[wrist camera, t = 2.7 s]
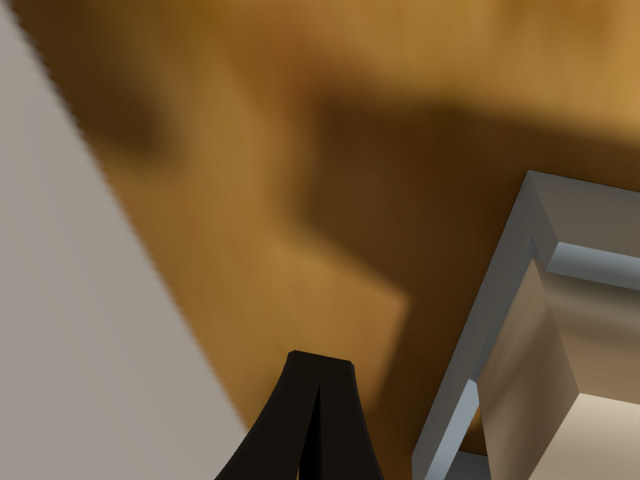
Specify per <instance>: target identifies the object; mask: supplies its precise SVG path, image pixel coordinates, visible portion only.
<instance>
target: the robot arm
mask: <svg viewBox="0 0 640 480" xmlns="http://www.w3.org/2000/svg"><path fill="white" fill-rule="evenodd" d="M298 469H299V478H298V480H384V478H383V475H382V473H381V470H380V467H379V464H378V461H377V459H376V456H375V453H374V449H373V446H372V443H371V440H370V436H369V433H368V430H367V427H366V423H365V419H364V416H363V412H362V408H361V403H360V399H359V394H358V390H357V384H356V378H355V370H354V365H353V364H352V363H351V361H347V360H342V359H337V358H332V357H327V356H322V355H317V354H312V353H307V352H302V351H296V350H294V351H292V352H289V353H288V356H287V360H286V363H285V366H284V369H283V371H282V374H281V376H280V378H279V380H278V383H277V385H276V387H275V388H274V390H273V392H272V394H271V396H270V398H269V400H268V402H267V403H266V405H265V407H264V408H263V410H262V412H261V413H260V415H259V417H258V419H257V420H256V422H255V424H254V425H253V427H252V428H251V430H250V431H249V433H248V434H247V436H246V437H245V438H244V440H243V441H242V443H241V444H240V446H239V447H238V449H237V450H236V452H235V453H234V455H233V456H232V457H231V459H230V460H229V461H228V463H227V464H226V465H225V467H224V468H223V469H222V471H221V472H220V473H219V475H218V476H217V477H216V478H215V479H214V480H297V474H298Z"/></svg>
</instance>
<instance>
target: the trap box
mask: <svg viewBox="0 0 640 480" xmlns="http://www.w3.org/2000/svg"><path fill="white" fill-rule="evenodd" d="M533 257H534V258H539V259H541V262H542V265H543V268H544V270H545V271H546V272H551V273H556V274H561V275H565V276H570V277H575V278H580V279H585V280H590V281H595V282H600V283H605V284H610V285H615V286H620V287H625V288H630V289H635V290H640V192H635V191H630V190H625V189H620V188H615V187H610V186H605V185H601V184H596V183H591V182H586V181H581V180H576V179H571V178H566V177H561V176H557V175H552V174H547V173H542V172H537V171H532V170H528V171H527V174H526V176H525V179H524V181H523V184H522V186H521V188H520V191H519V193H518V196H517V198H516V201H515V203H514V206H513V208H512V211H511V213H510V215H509V218H508V220H507V223H506V225H505V228H504V230H503V233H502V235H501V238H500V240H499V243H498V245H497V247H496V250H495V252H494V255H493V257H492V260H491V262H490V265H489V267H488V270H487V272H486V274H485V277H484V279H483V282H482V284H481V287H480V289H479V292H478V294H477V297H476V299H475V301H474V304H473V306H472V309H471V311H470V314H469V316H468V319H467V321H466V324H465V326H464V329H463V331H462V333H461V336H460V338H459V341H458V343H457V346H456V348H455V351H454V353H453V356H452V358H451V360H450V363H449V365H448V368H447V370H446V373H445V375H444V378H443V380H442V383H441V385H440V388H439V390H438V392H437V395H436V397H435V400H434V402H433V405H432V407H431V410H430V412H429V415H428V417H427V419H426V422H425V424H424V427H423V429H422V432H421V434H420V437H419V439H418V442H417V444H416V447H415V449H414V451H413V454H412V480H492V479H491V473H490V467H489V460H488V456H483V455H478V454H473V453H468V452H463V451H458V448H459V446H460V444H461V442H462V440H463V438H464V436H465V433H466V431H467V429H468V427H469V425H470V423H471V421H472V418H473V416H474V414H475V412H476V410H477V408H478V406H479V398H478V392H477V385H476V382H477V380H478V378H479V376H480V373H481V371H482V369H483V367H484V364H485V362H486V360H487V358H488V356H489V353H490V351H491V349H492V347H493V345H494V342H495V340H496V338H497V336H498V333H499V331H500V329H501V327H502V325H503V322H504V320H505V318H506V316H507V314H508V311H509V309H510V307H511V305H512V302H513V300H514V298H515V296H516V294H517V291H518V289H519V287H520V285H521V283H522V280H523V278H524V276H525V274H526V271H527V269H528V267H529V265H530V263H531V260H532V258H533Z"/></svg>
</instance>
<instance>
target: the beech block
mask: <svg viewBox="0 0 640 480" xmlns="http://www.w3.org/2000/svg"><path fill="white" fill-rule="evenodd" d="M476 385H477V392H478V398H479V404H480V410H481V417H482V423H483V429H484V435H485V442H486V448H487V454H488V460H489V467H490V473H491V479H492V480H640V290H635V289H630V288H625V287H620V286H615V285H610V284H605V283H600V282H595V281H590V280H585V279H580V278H575V277H570V276H565V275H561V274H556V273H551V272H546V271H545V270H544V268H543V265H542V262H541V259H539V258H534V257H533V258H532V260H531V263H530V265H529V267H528V269H527V271H526V274H525V276H524V278H523V280H522V283H521V285H520V287H519V289H518V291H517V294H516V296H515V298H514V300H513V302H512V305H511V307H510V309H509V311H508V314H507V316H506V318H505V320H504V322H503V325H502V327H501V329H500V331H499V333H498V336H497V338H496V340H495V342H494V345H493V347H492V349H491V351H490V353H489V356H488V358H487V360H486V362H485V364H484V367H483V369H482V371H481V373H480V376H479V378H478V380H477V382H476Z"/></svg>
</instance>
